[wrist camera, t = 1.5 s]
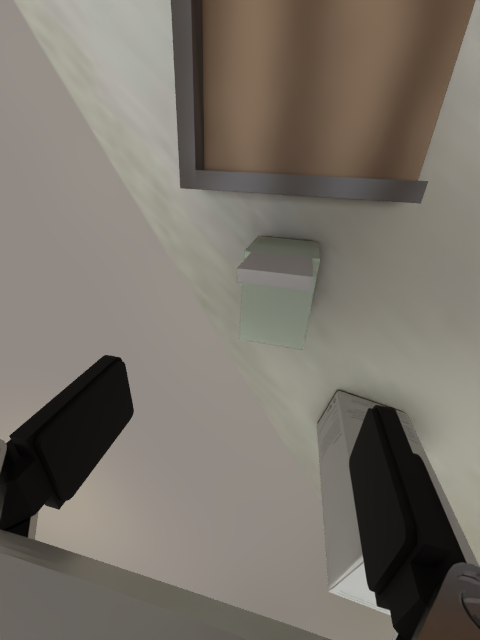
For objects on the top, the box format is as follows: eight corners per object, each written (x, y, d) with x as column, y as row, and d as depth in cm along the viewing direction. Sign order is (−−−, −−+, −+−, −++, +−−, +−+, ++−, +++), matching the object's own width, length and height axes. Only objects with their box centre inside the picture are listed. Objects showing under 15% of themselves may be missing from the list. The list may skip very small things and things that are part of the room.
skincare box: (315, 423, 33) (319, 591, 19) (338, 385, 29) (363, 555, 16) (382, 448, 32) (435, 640, 19) (413, 412, 29) (505, 612, 15)
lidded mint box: (317, 239, 23) (322, 278, 14) (304, 310, 26) (301, 384, 17) (261, 234, 24) (228, 267, 14) (255, 304, 27) (225, 369, 18)
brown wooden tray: (484, -89, 14) (557, -205, 10) (398, 199, 21) (420, 203, 16) (199, -57, 17) (164, -135, 13) (203, 187, 23) (180, 188, 19)
